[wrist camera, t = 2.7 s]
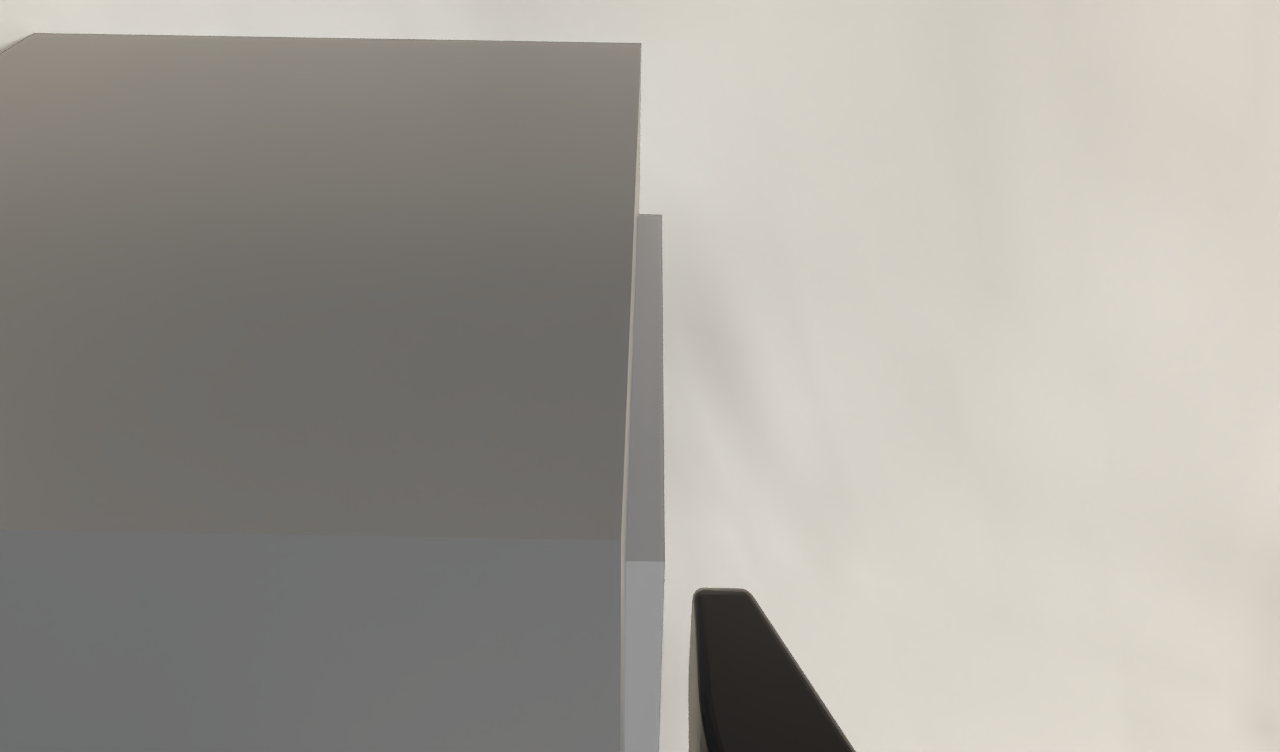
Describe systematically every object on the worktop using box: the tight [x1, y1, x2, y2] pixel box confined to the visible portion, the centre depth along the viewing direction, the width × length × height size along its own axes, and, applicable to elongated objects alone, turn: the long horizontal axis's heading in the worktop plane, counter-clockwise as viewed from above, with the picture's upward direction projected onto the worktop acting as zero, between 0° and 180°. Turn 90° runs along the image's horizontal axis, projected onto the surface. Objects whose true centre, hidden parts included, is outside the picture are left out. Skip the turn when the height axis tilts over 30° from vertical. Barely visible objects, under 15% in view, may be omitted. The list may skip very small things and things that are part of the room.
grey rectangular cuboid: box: [0, 33, 665, 752], centre depth 8 cm, size 8×4×5 cm, turn 179°
